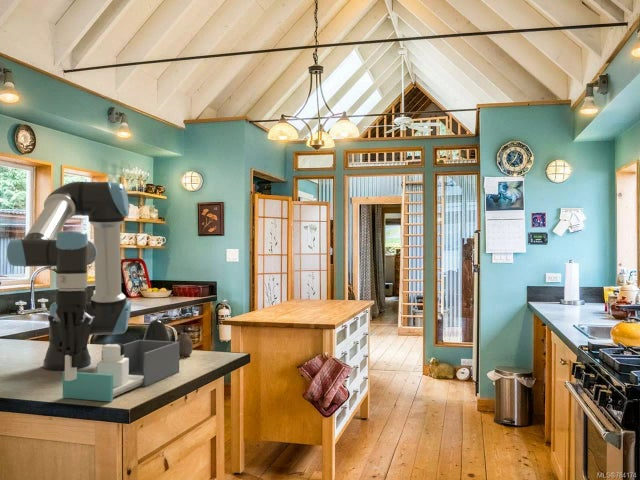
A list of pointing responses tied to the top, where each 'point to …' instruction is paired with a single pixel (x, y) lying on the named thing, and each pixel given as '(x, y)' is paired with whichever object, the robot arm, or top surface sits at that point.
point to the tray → (97, 386)
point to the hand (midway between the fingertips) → (70, 379)
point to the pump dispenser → (156, 331)
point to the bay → (152, 359)
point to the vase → (184, 345)
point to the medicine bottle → (114, 363)
